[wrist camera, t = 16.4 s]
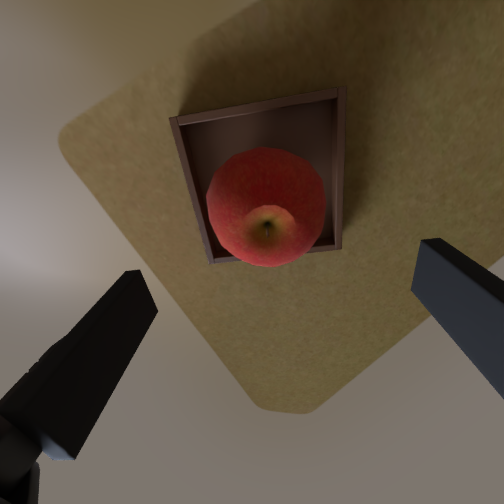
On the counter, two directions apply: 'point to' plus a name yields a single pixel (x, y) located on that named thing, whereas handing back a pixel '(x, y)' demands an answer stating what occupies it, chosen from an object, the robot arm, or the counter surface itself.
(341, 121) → the tray
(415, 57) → the counter surface
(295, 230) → the apple
